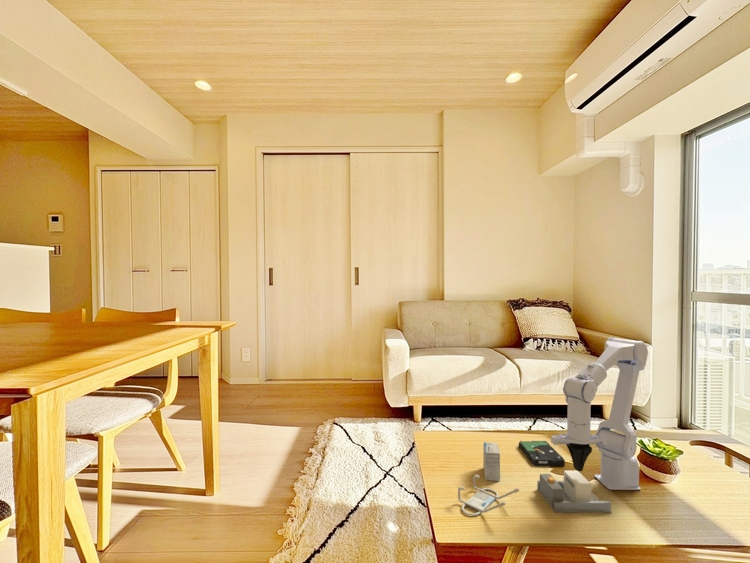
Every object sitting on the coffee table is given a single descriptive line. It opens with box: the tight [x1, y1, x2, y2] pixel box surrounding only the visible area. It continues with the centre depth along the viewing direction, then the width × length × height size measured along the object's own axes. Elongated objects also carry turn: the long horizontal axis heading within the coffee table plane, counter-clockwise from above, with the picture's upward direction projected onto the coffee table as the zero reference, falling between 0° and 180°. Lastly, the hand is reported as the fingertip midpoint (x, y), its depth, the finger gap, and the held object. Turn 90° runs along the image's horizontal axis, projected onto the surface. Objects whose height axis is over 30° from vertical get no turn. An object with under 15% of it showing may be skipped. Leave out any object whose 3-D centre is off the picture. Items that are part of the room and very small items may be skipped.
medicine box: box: [482, 441, 501, 482], centre depth 122 cm, size 8×4×9 cm, turn 169°
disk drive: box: [518, 440, 566, 467], centre depth 135 cm, size 10×3×15 cm
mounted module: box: [539, 473, 564, 507], centre depth 109 cm, size 3×8×6 cm, turn 0°
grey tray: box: [536, 480, 612, 514], centre depth 109 cm, size 15×11×3 cm
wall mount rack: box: [457, 474, 520, 517], centre depth 106 cm, size 16×14×6 cm
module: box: [563, 470, 592, 501], centre depth 109 cm, size 4×7×6 cm, turn 0°
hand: (578, 469), depth 108 cm, fingers closed
